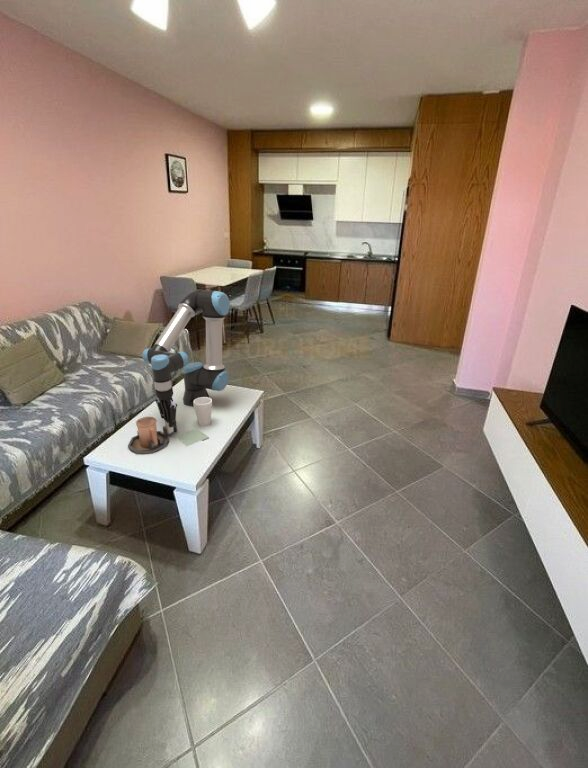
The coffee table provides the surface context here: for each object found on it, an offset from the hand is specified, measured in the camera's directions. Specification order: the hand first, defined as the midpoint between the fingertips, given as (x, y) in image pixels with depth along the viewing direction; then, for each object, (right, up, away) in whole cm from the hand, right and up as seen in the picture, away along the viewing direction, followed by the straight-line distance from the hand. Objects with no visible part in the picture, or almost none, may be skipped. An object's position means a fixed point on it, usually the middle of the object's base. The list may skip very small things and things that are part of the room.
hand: (170, 432), depth 176 cm
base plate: (-8, -5, -6) cm, 11 cm away
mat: (+10, -3, +1) cm, 11 cm away
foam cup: (+13, +3, +14) cm, 20 cm away
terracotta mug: (-7, -5, -7) cm, 11 cm away
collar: (-6, -3, -4) cm, 8 cm away
